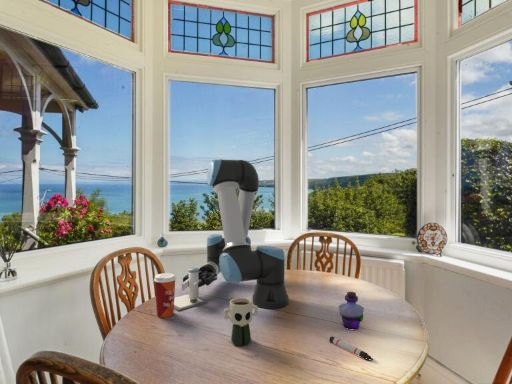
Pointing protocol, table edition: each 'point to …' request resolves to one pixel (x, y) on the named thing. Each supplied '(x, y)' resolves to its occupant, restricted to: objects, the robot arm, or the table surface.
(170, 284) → the coffee cup
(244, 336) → the character mug
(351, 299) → the potion bottle
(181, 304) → the writing board
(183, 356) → the table surface
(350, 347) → the marker
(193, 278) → the thick grey marker
